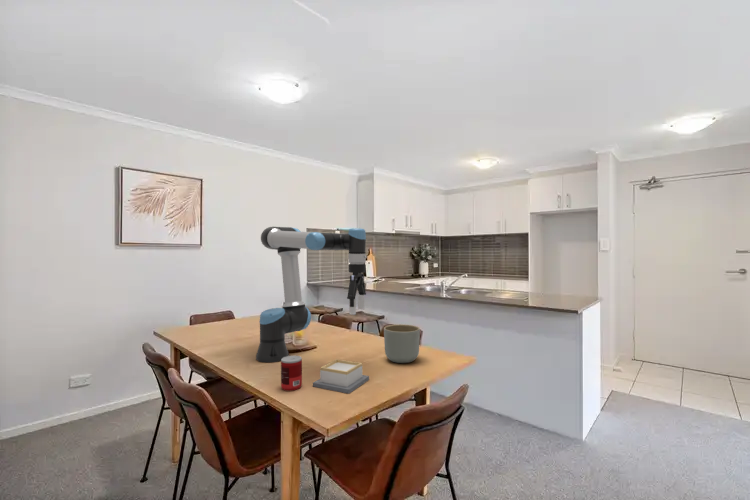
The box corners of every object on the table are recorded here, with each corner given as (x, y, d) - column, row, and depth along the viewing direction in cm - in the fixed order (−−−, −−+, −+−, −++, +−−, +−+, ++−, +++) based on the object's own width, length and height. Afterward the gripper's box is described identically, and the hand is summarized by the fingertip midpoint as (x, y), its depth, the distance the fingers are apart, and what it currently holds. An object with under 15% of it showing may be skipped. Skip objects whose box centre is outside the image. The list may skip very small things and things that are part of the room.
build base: (312, 386, 140) (312, 368, 140) (335, 373, 154) (335, 357, 154) (348, 393, 133) (348, 374, 133) (369, 379, 147) (369, 362, 147)
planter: (376, 359, 174) (376, 327, 174) (403, 353, 185) (403, 323, 185) (400, 368, 161) (400, 333, 161) (427, 361, 171) (427, 328, 171)
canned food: (304, 383, 143) (304, 355, 143) (298, 391, 135) (298, 361, 135) (285, 383, 144) (285, 355, 144) (278, 390, 136) (278, 361, 136)
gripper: (357, 264, 147) (357, 317, 148) (372, 262, 172) (372, 307, 172) (339, 264, 149) (339, 316, 149) (356, 262, 173) (356, 306, 174)
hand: (357, 311), depth 161 cm, fingers open, 13 cm apart
